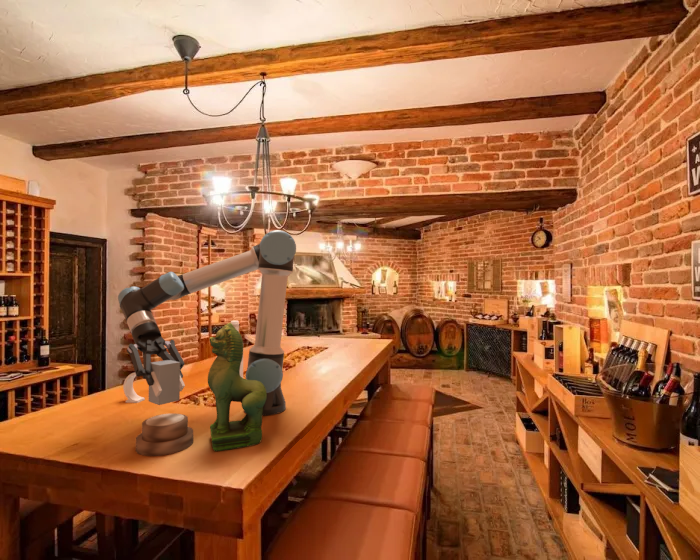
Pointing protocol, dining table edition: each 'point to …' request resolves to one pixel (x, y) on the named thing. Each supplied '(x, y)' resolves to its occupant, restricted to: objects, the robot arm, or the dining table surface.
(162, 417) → the walnut pedestal
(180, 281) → the robot arm
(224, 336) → the lion statue
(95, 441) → the dining table surface
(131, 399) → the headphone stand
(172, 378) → the slate block
